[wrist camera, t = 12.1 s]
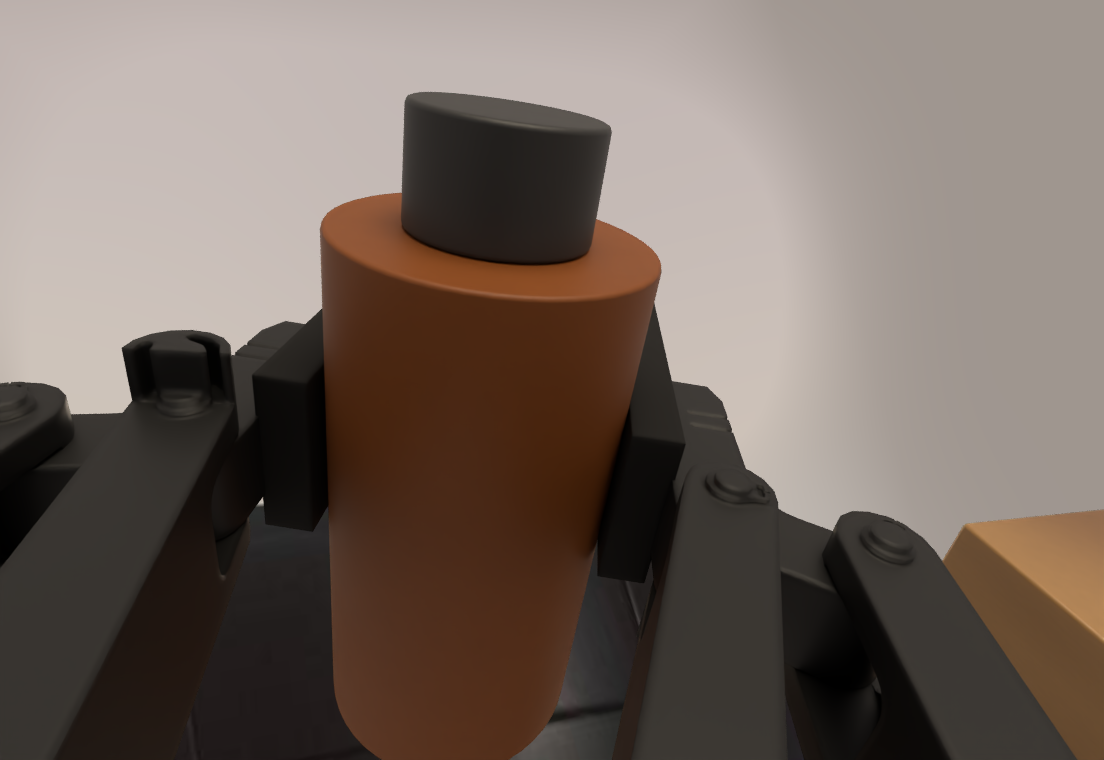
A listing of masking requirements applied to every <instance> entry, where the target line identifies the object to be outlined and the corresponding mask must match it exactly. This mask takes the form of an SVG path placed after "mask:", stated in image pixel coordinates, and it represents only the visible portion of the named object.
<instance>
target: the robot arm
mask: <svg viewBox="0 0 1104 760" xmlns="http://www.w3.org/2000/svg"><path fill="white" fill-rule="evenodd" d="M122 352H123V357H124V362H125V367H126V372H127V377H128V382H129V386H130V392H131V397H132V402H131V403H130V404H129V406H128V407H127V408H126V410H125V411H124V412H123V413H113V414H74V415H73V414H71V413H70V409H69V406H68V402H67V398H66V395H65V394H64V393H63V392H62V391H61V390H60V389H59V388H56V387H53V386H50V385H46V384H42V383H25V382H11V384H9V383H1V384H0V760H174V759H175V756H176V753H177V750H178V747H179V744H180V741H181V738H182V736H183V733H184V730H185V727H186V724H187V721H188V718H189V715H190V713H191V710H192V707H193V704H194V701H195V698H196V695H197V692H198V689H199V687H200V684H201V681H202V678H203V675H204V672H205V669H206V666H207V664H208V661H209V658H210V655H211V652H212V649H213V646H214V643H215V640H216V638H217V635H218V632H219V629H220V626H221V623H222V620H223V617H224V615H225V612H226V609H227V606H228V603H229V600H230V597H231V594H232V592H233V589H234V586H235V583H236V580H237V577H238V574H239V571H240V568H241V566H242V563H243V560H244V557H245V554H246V551H247V548H248V545H249V543H250V522H249V515H250V514H251V512H252V511H253V510H254V508H255V507H256V505H257V504H258V503H259V501H260V500H261V499H262V497H263V501H264V512H265V522H266V524H267V525H274V526H280V527H287V528H293V529H299V530H306V531H312V532H313V530H314V529H315V527H316V525H317V524H318V522H319V520H320V518H321V517H322V515H323V513H324V512H325V510H326V508H327V507H328V476H327V443H326V410H325V377H324V344H323V311H322V309H321V310H320V311H319V312H318V313H317V314H316V315H315V316H314V317H313V318H312V319H311V320H309V321H308V322H307V323H306V324H300V323H294V322H288V321H285V322H282V323H280V324H277V325H274V326H272V327H269V328H266V329H264V330H262V331H260V332H259V333H258V334H257V335H256V336H254V337H253V338H252V339H251V340H250V341H248V343H247V345H244V346H243V347H241V348H240V349H239V350H238V351H237V352H235V355H232V356H231V347H230V344H229V343H228V342H227V341H226V340H225V339H224V338H222V337H220V336H217V335H215V334H212V333H208V332H201V331H194V330H178V331H177V330H176V331H166V332H160V333H154V334H149V335H147V336H144V337H141V338H138V339H135V340H133V341H131V342H130V343H129V344H127V345H125V346H124V347H122ZM651 560H652V569H653V578H654V580H653V583H652V587H651V590H650V593H649V596H648V599H647V603H646V606H645V609H644V612H643V616H642V619H641V622H640V625H639V629H638V632H637V635H636V636H637V637H639V639H638V644H637V648H636V653H635V657H634V662H633V666H632V671H631V675H630V680H629V684H628V689H627V693H626V698H625V703H624V707H623V712H622V716H621V721H620V725H619V730H618V734H617V739H616V743H615V748H614V752H613V757H612V760H787V734H786V707H785V696H786V700H787V703H788V706H789V710H790V713H791V716H792V720H793V723H794V727H795V730H796V733H797V737H798V740H799V743H800V747H801V750H802V753H803V757H804V760H1077V758H1076V757H1075V755H1074V754H1073V753H1072V751H1071V750H1070V748H1069V747H1068V745H1067V744H1066V742H1065V741H1064V739H1063V738H1062V736H1061V735H1060V733H1059V732H1058V731H1057V729H1056V728H1055V726H1054V725H1053V723H1052V722H1051V720H1050V719H1049V717H1048V716H1047V714H1046V713H1045V711H1044V710H1043V709H1042V707H1041V706H1040V704H1039V703H1038V701H1037V700H1036V698H1035V697H1034V695H1033V694H1032V692H1031V691H1030V689H1029V688H1028V687H1027V685H1026V684H1025V682H1024V681H1023V679H1022V678H1021V676H1020V675H1019V673H1018V672H1017V670H1016V669H1015V667H1014V666H1013V665H1012V663H1011V662H1010V660H1009V659H1008V657H1007V656H1006V654H1005V653H1004V651H1003V650H1002V648H1001V647H1000V645H999V644H998V643H997V641H996V640H995V638H994V637H993V635H992V634H991V632H990V631H989V629H988V628H987V626H986V625H985V623H984V622H983V621H982V619H981V618H980V616H979V615H978V613H977V612H976V610H975V609H974V607H973V606H972V604H971V603H970V601H969V600H968V599H967V597H966V596H965V594H964V593H963V591H962V590H961V588H960V587H959V585H958V584H957V582H956V581H955V579H954V578H953V577H952V575H951V574H950V572H949V571H948V569H947V568H946V566H945V565H944V563H943V562H942V560H941V559H940V558H939V556H938V555H937V553H936V552H935V550H934V549H933V548H932V547H931V546H930V545H929V544H928V543H927V542H926V541H925V540H924V539H923V538H922V537H921V536H919V535H918V534H917V533H915V532H914V531H913V530H911V529H910V528H908V527H907V526H906V525H904V524H902V523H900V522H898V521H895V520H894V519H892V518H889V517H886V516H882V515H878V514H875V513H871V512H859V511H852V512H849V513H847V514H844V515H842V516H840V518H839V520H838V522H837V524H836V525H835V528H834V530H833V531H831V530H828V529H825V528H823V527H820V526H817V525H814V524H812V523H808V522H806V521H803V520H801V519H798V518H796V517H793V516H791V515H789V514H786V513H785V512H783V511H781V510H779V509H778V501H777V498H776V495H775V492H774V491H773V489H772V488H771V487H770V486H769V485H768V484H767V483H766V482H765V481H764V480H763V479H762V478H760V477H759V476H757V475H756V474H754V473H753V472H751V471H749V470H747V469H746V468H745V465H744V462H743V459H742V457H741V454H740V451H739V448H738V445H737V443H736V440H735V437H734V434H733V433H732V428H731V425H730V423H729V420H727V414H726V411H725V409H724V406H723V403H722V401H721V400H720V399H719V398H718V397H717V396H716V395H715V394H714V393H713V392H712V391H710V389H709V388H708V387H705V386H698V385H692V384H686V383H680V382H673V381H672V380H671V375H670V371H669V367H668V362H667V358H666V353H665V349H664V344H663V340H662V336H661V331H660V327H659V322H658V318H657V313H656V309H655V304H654V305H653V309H652V313H651V318H650V322H649V326H648V330H647V334H646V338H645V343H644V347H643V351H642V355H641V359H640V363H639V368H638V372H637V376H636V380H635V384H634V388H633V393H632V397H631V401H630V405H629V409H628V414H627V418H626V422H625V426H624V430H623V434H622V439H621V443H620V447H619V451H618V455H617V459H616V464H615V468H614V472H613V476H612V480H611V484H610V489H609V493H608V497H607V501H606V505H605V509H604V514H603V518H602V522H601V526H600V530H599V534H598V576H600V577H607V578H613V579H619V580H626V581H632V582H639V583H644V582H645V579H646V575H647V572H648V569H649V565H650V562H651Z"/></svg>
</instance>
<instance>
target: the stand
mask: <svg viewBox="0 0 1104 760" xmlns="http://www.w3.org/2000/svg"><path fill="white" fill-rule="evenodd" d="M942 562H943V563H944V565H945V566H946V568H947V569H948V571H949V572H950V574H951V575H952V577H953V578H954V579H955V581H956V582H957V584H958V585H959V587H960V588H961V590H962V591H963V593H964V594H965V596H966V597H967V599H968V600H969V601H970V603H971V604H972V606H973V607H974V609H975V610H976V612H977V613H978V615H979V616H980V618H981V619H982V621H983V622H984V623H985V625H986V626H987V628H988V629H989V631H990V632H991V634H992V635H993V637H994V638H995V640H996V641H997V643H998V644H999V645H1000V647H1001V648H1002V650H1003V651H1004V653H1005V654H1006V656H1007V657H1008V659H1009V660H1010V662H1011V663H1012V665H1013V666H1014V667H1015V669H1016V670H1017V672H1018V673H1019V675H1020V676H1021V678H1022V679H1023V681H1024V682H1025V684H1026V685H1027V687H1028V688H1029V689H1030V691H1031V692H1032V694H1033V695H1034V697H1035V698H1036V700H1037V701H1038V703H1039V704H1040V706H1041V707H1042V709H1043V710H1044V711H1045V713H1046V714H1047V716H1048V717H1049V719H1050V720H1051V722H1052V723H1053V725H1054V726H1055V728H1056V729H1057V731H1058V732H1059V733H1060V735H1061V736H1062V738H1063V739H1064V741H1065V742H1066V744H1067V745H1068V747H1069V748H1070V750H1071V751H1072V753H1073V754H1074V755H1075V757H1076V758H1077V760H1104V510H1094V511H1085V512H1075V513H1065V514H1055V515H1046V516H1035V517H1026V518H1017V519H1007V520H998V521H987V522H978V523H968V524H965V525H964V526H963V527H962V529H961V531H960V532H959V534H958V536H957V537H956V539H955V540H954V542H953V544H952V545H951V547H950V549H949V550H948V552H947V554H946V555H945V557H944V559H943V560H942Z"/></svg>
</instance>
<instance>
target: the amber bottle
mask: <svg viewBox="0 0 1104 760" xmlns="http://www.w3.org/2000/svg"><path fill="white" fill-rule="evenodd" d="M404 110H405V111H404V140H403V171H402V193H393V194H384V195H377V196H370V197H366V198H361V199H357V200H353V201H350V202H347V203H344V204H342V205H340V206H338V207H336V208H334V209H333V210H331V211H330V212H328V213H327V215H326V216H325V217H324V218H323V221H322V223H321V227H320V245H321V278H322V311H323V344H324V377H325V410H326V443H327V476H328V508H329V541H330V574H331V607H332V640H333V673H334V688H335V696H336V700H337V704H338V707H339V710H340V712H341V715H342V717H343V719H344V721H345V723H346V725H347V726H348V728H349V729H350V730H351V732H352V733H353V735H354V736H355V737H356V738H357V739H358V740H359V741H360V742H361V744H362V745H363V746H364V747H365V748H367V749H368V750H369V751H371V752H372V753H373V754H374V755H376V756H377V757H378V758H380V759H382V760H508V759H510V758H511V757H513V756H514V755H516V754H518V753H519V752H521V751H522V750H523V749H524V748H525V747H527V746H528V745H529V744H530V743H531V742H532V741H533V740H534V739H535V738H536V737H537V736H538V735H539V734H540V732H541V731H542V730H543V729H544V727H545V726H546V724H547V723H548V721H549V720H550V718H551V716H552V714H553V712H554V710H555V708H556V705H557V703H558V699H559V696H560V693H561V689H562V685H563V680H564V676H565V672H566V668H567V664H568V660H569V655H570V651H571V647H572V643H573V639H574V635H575V630H576V626H577V622H578V618H579V614H580V610H581V605H582V601H583V597H584V593H585V589H586V585H587V580H588V576H589V572H590V568H591V564H592V560H593V555H594V551H595V547H596V543H597V539H598V534H599V530H600V526H601V522H602V518H603V514H604V509H605V505H606V501H607V497H608V493H609V489H610V484H611V480H612V476H613V472H614V468H615V464H616V459H617V455H618V451H619V447H620V443H621V439H622V434H623V430H624V426H625V422H626V418H627V414H628V409H629V405H630V401H631V397H632V393H633V388H634V384H635V380H636V376H637V372H638V368H639V363H640V359H641V355H642V351H643V347H644V343H645V338H646V334H647V330H648V326H649V322H650V318H651V313H652V309H653V305H654V300H655V297H656V292H657V288H658V284H659V280H660V275H661V263H660V260H659V258H658V256H657V255H656V253H655V252H654V251H653V250H652V249H651V248H650V247H649V246H647V245H646V244H645V243H644V242H642V241H641V240H639V239H638V238H636V237H634V236H633V235H630V234H629V233H627V232H625V231H623V230H621V229H619V228H616V227H614V226H612V225H610V224H607V223H605V222H602V221H600V220H597V219H596V217H597V211H598V206H599V200H600V195H601V189H602V184H603V178H604V173H605V167H606V161H607V155H608V150H609V145H610V139H611V133H612V132H611V127H610V126H609V125H607V124H606V123H604V122H602V121H600V120H598V119H595V118H592V117H589V116H586V115H582V114H578V113H574V112H570V111H566V110H561V109H557V108H552V107H547V106H541V105H536V104H531V103H525V102H519V101H513V100H506V99H500V98H492V97H485V96H476V95H467V94H456V93H442V92H419V93H414V94H410V95H408V96H407V97H406V100H405V108H404Z"/></svg>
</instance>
